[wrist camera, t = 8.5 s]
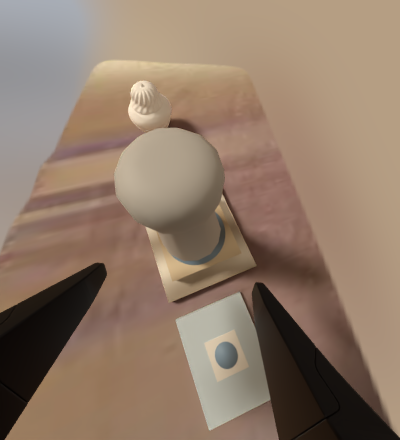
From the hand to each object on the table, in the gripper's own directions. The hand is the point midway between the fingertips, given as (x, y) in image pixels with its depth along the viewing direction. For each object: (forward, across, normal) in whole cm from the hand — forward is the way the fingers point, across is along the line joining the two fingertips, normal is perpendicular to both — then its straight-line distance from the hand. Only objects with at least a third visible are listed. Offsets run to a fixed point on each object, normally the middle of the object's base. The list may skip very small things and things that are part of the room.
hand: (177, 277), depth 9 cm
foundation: (+11, 0, +4) cm, 12 cm away
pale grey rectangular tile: (+2, -5, +13) cm, 14 cm away
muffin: (+23, +8, -8) cm, 25 cm away
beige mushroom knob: (+8, 0, +3) cm, 9 cm away
